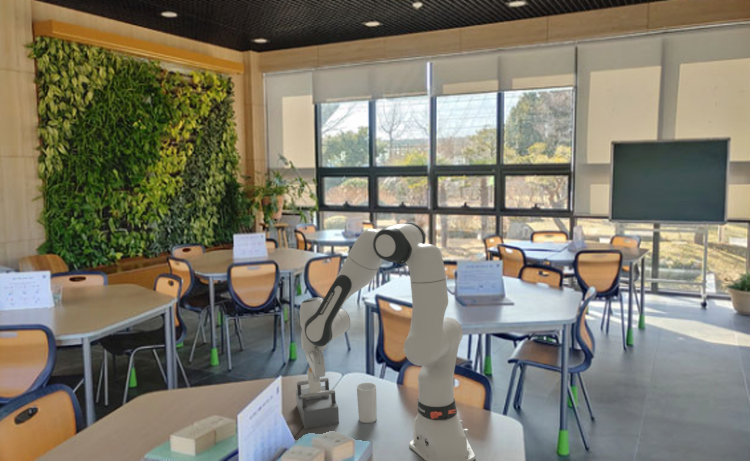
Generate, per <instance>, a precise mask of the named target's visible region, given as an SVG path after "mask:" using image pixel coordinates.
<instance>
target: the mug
mask: <svg viewBox="0 0 750 461" xmlns="http://www.w3.org/2000/svg"><path fill="white" fill-rule="evenodd" d="M356 398H357V410H358V412H357V413H358V420H359V422H361V423H364V424H370V423H374V422H375V421H377V418H378V417H377V416H378V415H377V413H378V412H377V406H378V405H377V385H376V384H375V383H373V382H362V383H359V384H358V385H357V386H356Z"/></svg>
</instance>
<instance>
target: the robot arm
mask: <svg viewBox="0 0 750 461" xmlns="http://www.w3.org/2000/svg"><path fill="white" fill-rule="evenodd" d="M426 239H427V238H426V233H425V231H424V229H423V228H422V227H421V226H420V225H418V224H416V223H414V222H404V223H395V224H392V225H389V226H386V227H383V228H382V229H380V230H378V229H376V228H366V229H364V230H363V231H362V232H361V233H360V234H359V236H358V237H357V239H356V240H355V242H354V243H353V245H352V247H351V248H350V250H349V252H348V254H347V257H346V258H345V261H344V262H343V265H342V266H341V269H340V271H339V273H338V274H337V276H336V278H335V280H334V281H333V283H332V284H331V286H330V288H329V290H328V291H327V292H326V294H325V296H324V298H322V297H320V296H316V297H315V296H314V297H311V298H308V299H304V300H302V302H301V303H300V307H299V324H300V327H301V333H300V339H301V340H300V341H301V349H302V350H303V351H304V354H305V357H306V358H305V359H306V360H307V363H308V365H309V368H310V367H311V369H312V372H313V379H314V381H315V382H319V381H320V379H319V377H320V378H325V377H326V365H325V357H324V350H325V349H327V346H328V344H329V343H330V342H332V341H333V340H334V339H337V338H338V337H340V336H342V335H343V334H345V333H346V332H347V331H349V330H350V327H351V319H350V316H349V313H348V312H347V311H346V310H345V309H344V308H342V307H343V306H344V305H345V303H346V301H347V300H348V299H349V298H350V297H352V296H353V295H354V294H355V293H356V292H358V291H360V290H362V289H364V287H366V286H368V285H369V284H370V283H371V282H372V281H373V279H374V278H375V276H376V275H377V273H378V272H379V269H380V267H381V265H382V264H383V261H387V262H389V263H390V262H391V263H394V264H398V265H404V264H406V265H407V267H408V270H409V280H410V291H411V299H412V300H411V301H412V310H411V320H410V327H409V331H408V334H407V337H406V339H405V341H404V342H403V352H404V354H405V357H406V359H407V360H408V361H409V362H410V363H411V364H413V365H415V366H418V367H419V366H421V367H420V371H419V372H418V374H417V376H418V377H417V383H418V384H417V385H418V386H417V388H418V398H417V402H416V406H417V412H418V413H417V415H416V417H415V418H414V419H413V439H412V440H411V441H410V442H409V445H408V447H409V448H410V449H411V450H413V451H414V452H415V453H416V454H418V456H419V457H421V458H422V459H424V461H474V460H476V454H475V452H474V451H473V449H472V446H471V445H470V444H471V443H470V442H469V440H468V438H467V437H469V435H470V434H469V429H468V428H463V425H464V423H463V420H462V419H460V416H459V414H458V410H457V404H456V400H455V399H456V398H455V397H454V396H455V393H454V391H455V390H454V376H455V369H456V363H457V358H458V351H459V347H460V344H461V343H462V340H463V337H464V331H463V328H462V325H461V324H460V322H459V321H458V320H456V319H455V318H453V317H449V316H448V317H445V314H446V311H447V307H448V306H449V305H448V304H449V295H448V285H447V275H446V267H445V264H444V259H443V255H442V253H441V250H440V248H439V247H438V246H436V245H434V244H431V243H426Z"/></svg>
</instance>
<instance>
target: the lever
mask: <svg viewBox="0 0 750 461" xmlns="http://www.w3.org/2000/svg"><path fill="white" fill-rule="evenodd" d="M306 373H307V380H308V383H309V384H308V388H309V391H310V393H314V392H321V386H322V385H321V382H320V381H319V382H315V381H314V379H313V372H312V369H311V367H310V366H309V368H308V370H307V371H306ZM320 378H321V377H319V379H320ZM316 397H322V396H316ZM316 397H310V398H316Z"/></svg>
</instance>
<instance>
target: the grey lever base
mask: <svg viewBox="0 0 750 461" xmlns="http://www.w3.org/2000/svg"><path fill="white" fill-rule="evenodd" d="M320 383H324V385H321V392H314V393H310V391H309V387H308V388H302V386H304V385H309V383H308V379H307V380H301V381H297V382H296V387H297V388H296V390H295V400H296V401H295V402H296V407H297V408H296V409H297V410H298V413H299V416H300V419H301V422H302V425H303V428H304V429H305V430H306V429H307V430H308V429H312V428H313V429H314V428H320V427H325V426H331V425H332V426H333V425H337V424H340V416H339V406H338V404H337V402H336V401H337V400H336V390H335V389H330V383H329V377H320ZM316 396H322V397H316ZM310 397H316V398H310Z"/></svg>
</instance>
